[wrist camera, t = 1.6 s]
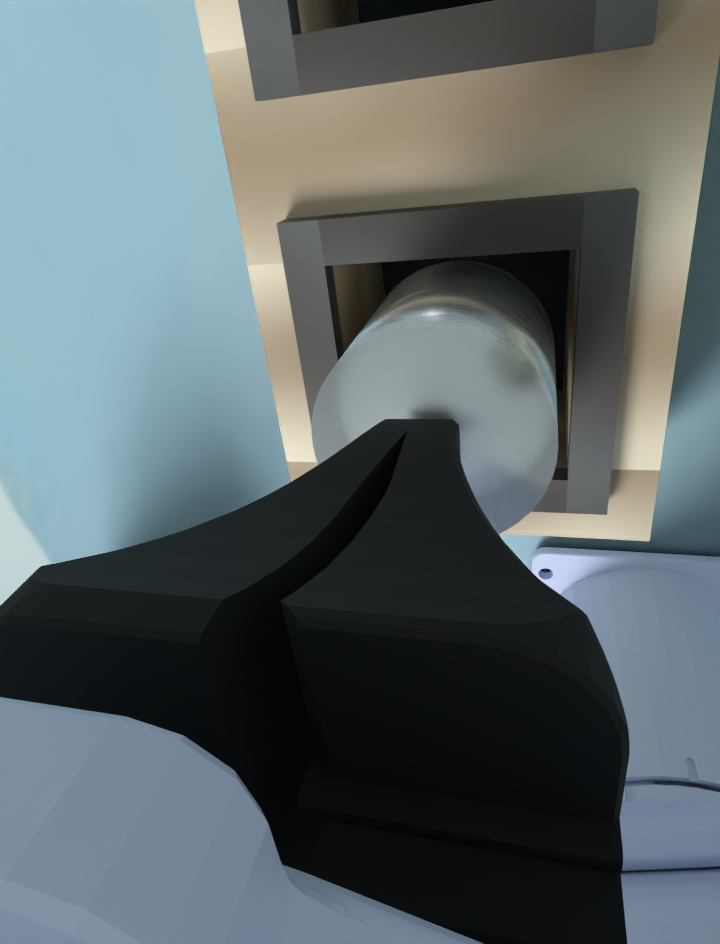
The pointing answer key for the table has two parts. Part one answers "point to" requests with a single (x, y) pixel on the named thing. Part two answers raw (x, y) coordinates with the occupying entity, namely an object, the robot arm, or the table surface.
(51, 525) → the table surface
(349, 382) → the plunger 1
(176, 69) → the table surface
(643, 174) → the birch block
